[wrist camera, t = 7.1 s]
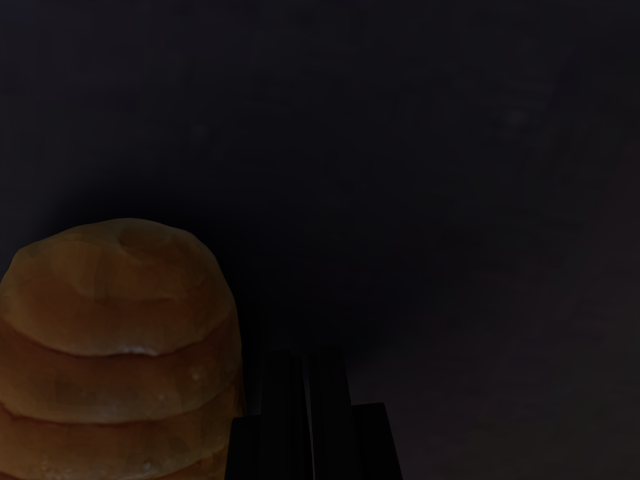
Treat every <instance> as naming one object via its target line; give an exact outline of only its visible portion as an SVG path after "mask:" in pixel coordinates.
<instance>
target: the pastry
mask: <svg viewBox="0 0 640 480" xmlns="http://www.w3.org/2000/svg"><path fill="white" fill-rule="evenodd" d="M241 349H242V344H241V337H240V330H239V323H238V315H237V309H236V304H235V300H234V297H233V295H232V292H231V290H230V288H229V286H228V284H227V282H226V280H225V278H224V276H223V274H222V272H221V269H220V267H219V265H218V262H217V260H216V258H215V256H214V255H213V253H212V252H211V251H210V249H209V248H208V247H207V246H206V245H204V244H203V243H202V242H201V241H200V240H199V239H198V238H196V237H195V236H194V235H193V234H192V233H190V232H187V231H185V230H181V229H178V228H174V227H169V226H166V225H163V224H160V223H157V222H154V221H149V220H144V219H137V218H120V219H113V220H107V221H103V222H99V223H93V224H86V225H80V226H76V227H73V228H70V229H67V230H65V231H63V232H60V233H58V234H56V235H53V236H51V237H48V238H45V239H43V240H40V241H37V242H34V243H32V244H30V245H27V246H25V247H23V248H21V249H19V250H18V252H17V253H16V254H15V255H14V258H13V260H12V263H11V265H10V267H9V269H8V271H7V272H6V273H5V275H4V276H3V279H2V281H1V284H0V480H224V476H225V469H226V461H227V453H228V446H229V438H230V430H231V424H232V420H233V418H236V417H246V416H247V405H246V396H245V391H244V384H243V376H242V356H241Z"/></svg>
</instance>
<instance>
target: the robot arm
mask: <svg viewBox="0 0 640 480" xmlns="http://www.w3.org/2000/svg"><path fill="white" fill-rule="evenodd" d="M308 367H309V383H310V399H311V416H312V432H313V449H314V465H315V480H403V478H402V474H401V470H400V466H399V462H398V458H397V453H396V449H395V445H394V441H393V437H392V433H391V429H390V425H389V421H388V417H387V412H386V409H385V405H384V403H383V402H382V403H372V404H363V405H353V406H351V401H350V395H349V389H348V382H347V376H346V370H345V364H344V358H343V351H342V345H341V344H337V345H327V346H317V353H314V354H308ZM224 480H313V469H312V453H311V442H310V433H309V425H308V416H307V408H306V399H305V390H304V382H303V373H302V364H301V356H300V355H295V356H291V351H290V349H287V350H277V351H267V352H265V359H264V375H263V392H262V408H261V415H255V416H246V417H236V418H233V420H232V424H231V430H230V438H229V446H228V453H227V461H226V469H225V476H224Z"/></svg>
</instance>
